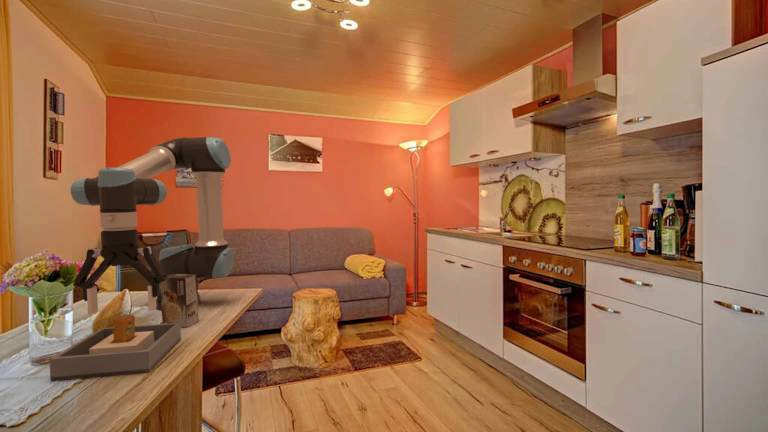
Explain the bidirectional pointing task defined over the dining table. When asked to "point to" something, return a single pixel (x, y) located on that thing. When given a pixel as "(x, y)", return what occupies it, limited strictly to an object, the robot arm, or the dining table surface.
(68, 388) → the dining table surface
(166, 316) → the coffee box
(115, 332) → the supplement box
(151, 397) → the dining table surface
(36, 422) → the dining table surface
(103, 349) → the socket block
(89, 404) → the dining table surface
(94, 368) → the walled box
